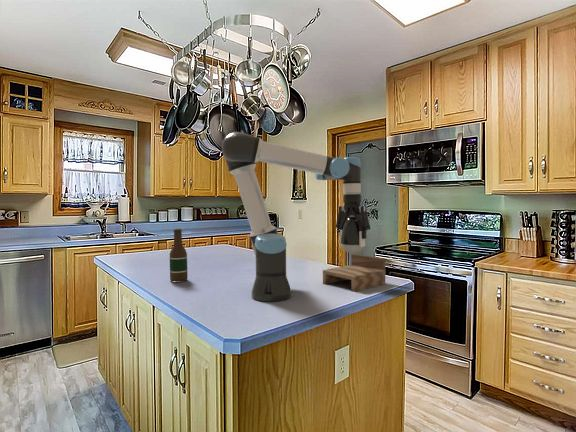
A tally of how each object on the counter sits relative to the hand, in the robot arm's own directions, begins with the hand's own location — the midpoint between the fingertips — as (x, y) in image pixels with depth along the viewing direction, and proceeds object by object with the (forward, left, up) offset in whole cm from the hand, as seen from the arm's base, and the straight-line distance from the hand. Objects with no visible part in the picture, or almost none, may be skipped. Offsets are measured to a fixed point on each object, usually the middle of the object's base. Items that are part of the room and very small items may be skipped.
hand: (352, 245), depth 153 cm
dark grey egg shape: (0, 0, -3) cm, 3 cm away
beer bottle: (-55, +57, -17) cm, 81 cm away
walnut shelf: (+1, 0, -17) cm, 17 cm away
